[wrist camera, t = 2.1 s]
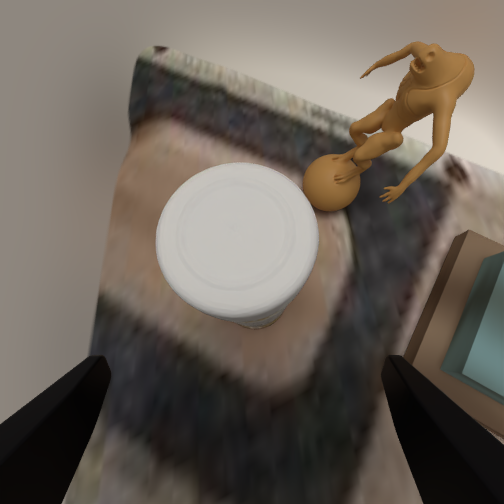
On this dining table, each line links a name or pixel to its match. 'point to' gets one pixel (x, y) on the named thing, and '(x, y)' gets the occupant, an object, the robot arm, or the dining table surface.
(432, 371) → the tower base
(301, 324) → the dining table surface
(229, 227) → the sprinkles bottle
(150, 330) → the dining table surface
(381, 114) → the figurine
